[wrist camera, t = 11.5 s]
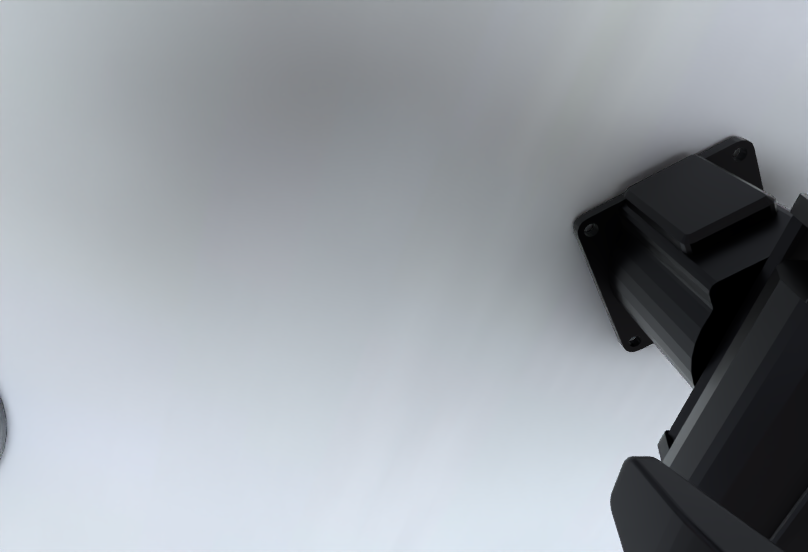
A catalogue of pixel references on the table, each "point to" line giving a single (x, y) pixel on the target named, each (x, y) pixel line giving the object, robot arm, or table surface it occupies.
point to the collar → (2, 428)
